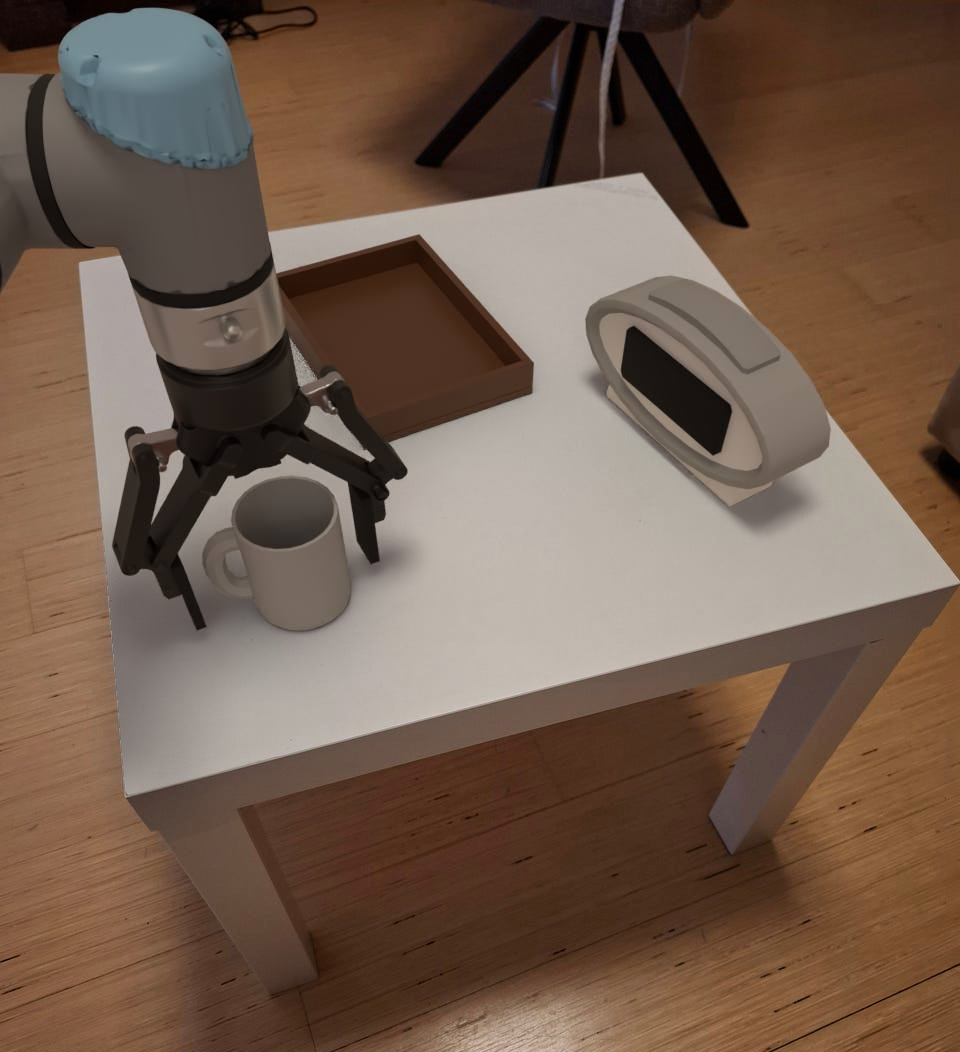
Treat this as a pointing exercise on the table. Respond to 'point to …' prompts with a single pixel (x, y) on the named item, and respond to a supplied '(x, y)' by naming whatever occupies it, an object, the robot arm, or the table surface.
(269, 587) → the cup
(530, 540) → the table surface
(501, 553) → the table surface
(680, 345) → the alarm clock
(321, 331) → the tray
